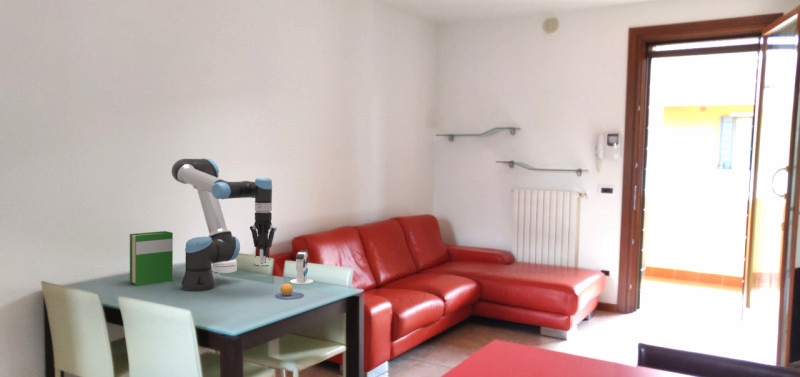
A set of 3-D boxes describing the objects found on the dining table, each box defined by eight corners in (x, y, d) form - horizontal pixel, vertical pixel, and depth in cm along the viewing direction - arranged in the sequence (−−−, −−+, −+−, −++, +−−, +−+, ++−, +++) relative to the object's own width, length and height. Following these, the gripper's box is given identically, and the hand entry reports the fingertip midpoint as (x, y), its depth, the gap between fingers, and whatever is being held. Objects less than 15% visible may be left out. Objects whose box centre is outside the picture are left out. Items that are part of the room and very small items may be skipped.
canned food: (266, 266, 327) (266, 247, 326) (252, 265, 328) (253, 246, 328) (271, 264, 334) (272, 245, 334) (258, 263, 336) (259, 244, 335)
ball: (282, 299, 260) (276, 289, 261) (288, 296, 265) (282, 286, 266) (291, 292, 259) (284, 282, 259) (297, 290, 264) (290, 280, 265)
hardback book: (136, 286, 273) (136, 235, 271) (129, 283, 278) (129, 233, 276) (172, 280, 286) (172, 232, 284) (165, 278, 291) (165, 231, 289)
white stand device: (310, 284, 285) (310, 254, 284) (287, 284, 286) (288, 253, 285) (314, 279, 297) (315, 250, 296) (292, 278, 298) (293, 249, 297)
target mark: (269, 297, 258) (269, 297, 258) (283, 291, 270) (283, 290, 270) (295, 300, 254) (295, 300, 254) (308, 294, 266) (308, 293, 266)
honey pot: (241, 271, 314) (241, 238, 313) (219, 274, 304) (220, 240, 303) (229, 267, 322) (229, 235, 321) (207, 270, 313) (207, 237, 312)
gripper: (246, 211, 263) (245, 263, 264) (271, 213, 259) (270, 265, 260) (255, 210, 270) (254, 260, 271) (280, 211, 266) (279, 262, 267)
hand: (262, 262), depth 266 cm, fingers closed
